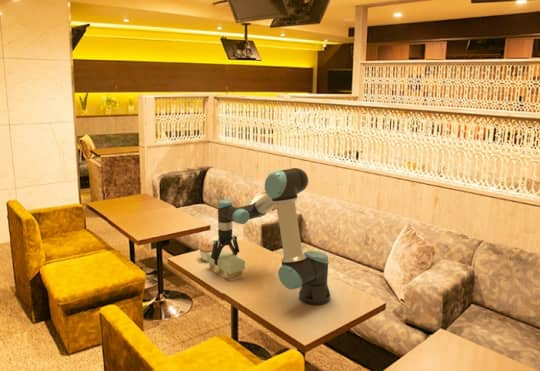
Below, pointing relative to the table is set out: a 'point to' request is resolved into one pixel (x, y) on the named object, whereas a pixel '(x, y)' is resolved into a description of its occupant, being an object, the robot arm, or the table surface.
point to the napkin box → (225, 274)
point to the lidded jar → (205, 251)
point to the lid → (228, 262)
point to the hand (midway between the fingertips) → (225, 267)
